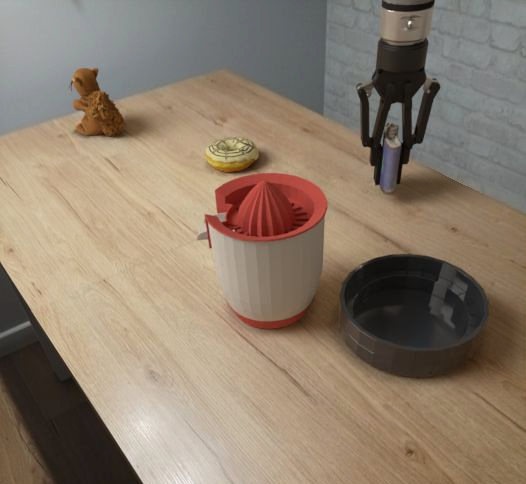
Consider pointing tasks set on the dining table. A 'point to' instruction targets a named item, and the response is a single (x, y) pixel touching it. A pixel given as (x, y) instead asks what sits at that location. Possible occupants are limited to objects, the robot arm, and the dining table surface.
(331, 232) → the dining table surface
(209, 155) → the decorated donut
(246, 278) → the citrus juicer
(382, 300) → the bowl
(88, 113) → the stuffed squirrel
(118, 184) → the dining table surface
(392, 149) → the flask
